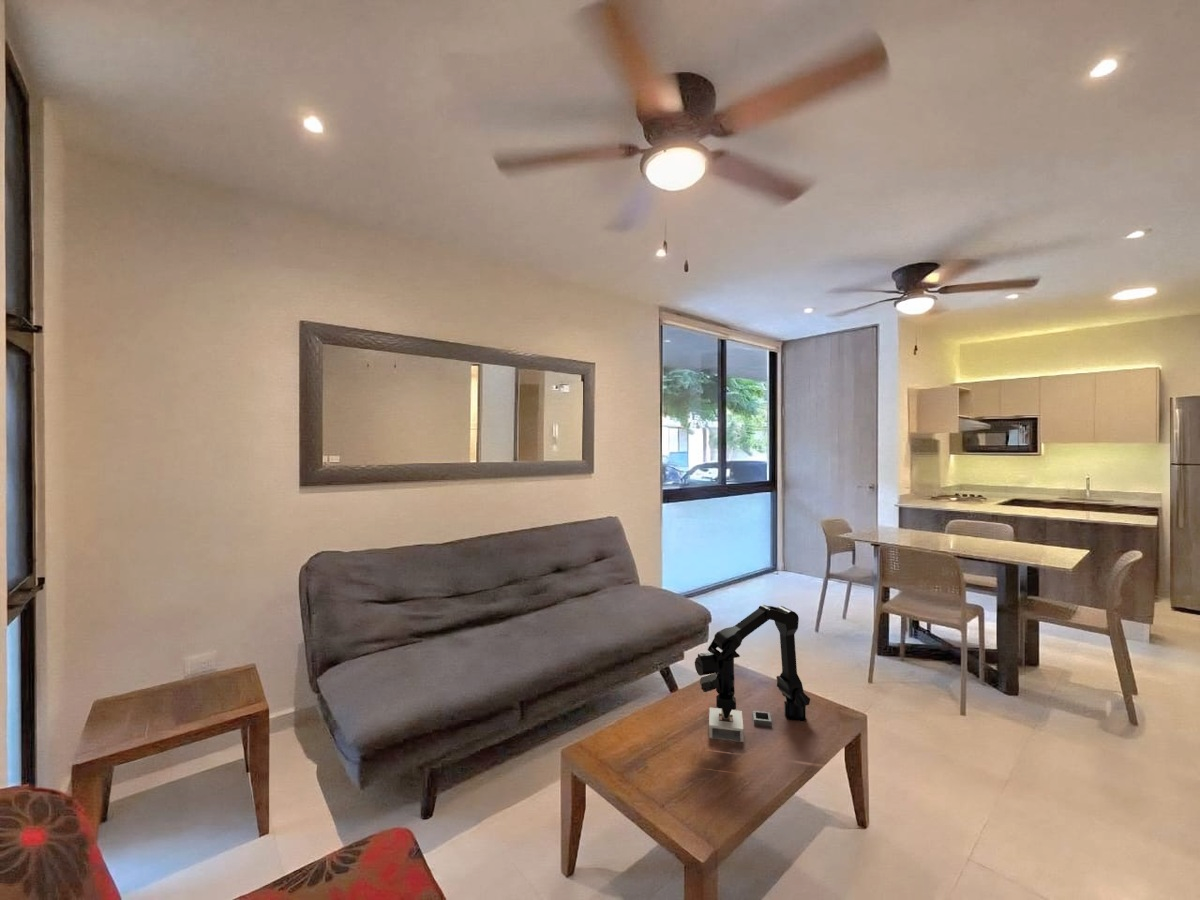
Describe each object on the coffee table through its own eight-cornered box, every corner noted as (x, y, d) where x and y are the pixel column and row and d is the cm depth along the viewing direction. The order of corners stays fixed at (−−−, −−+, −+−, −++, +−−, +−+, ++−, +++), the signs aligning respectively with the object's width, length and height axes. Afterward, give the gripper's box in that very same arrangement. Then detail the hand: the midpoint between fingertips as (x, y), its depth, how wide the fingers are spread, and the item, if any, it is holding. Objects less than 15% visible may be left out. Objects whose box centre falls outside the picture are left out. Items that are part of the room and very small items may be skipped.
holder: (770, 718, 177) (770, 712, 177) (771, 727, 171) (771, 721, 171) (752, 716, 178) (752, 710, 178) (753, 725, 172) (753, 719, 172)
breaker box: (741, 724, 173) (741, 710, 173) (743, 743, 163) (743, 729, 162) (709, 720, 176) (709, 707, 176) (709, 739, 165) (709, 725, 165)
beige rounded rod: (730, 722, 170) (729, 700, 170) (730, 726, 167) (729, 704, 167) (721, 721, 171) (721, 699, 171) (721, 725, 168) (721, 704, 168)
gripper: (702, 656, 180) (702, 698, 180) (700, 681, 161) (701, 728, 162) (733, 659, 177) (734, 702, 177) (735, 684, 159) (736, 732, 159)
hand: (725, 715), depth 169 cm, fingers closed on beige rounded rod, 3 cm apart
